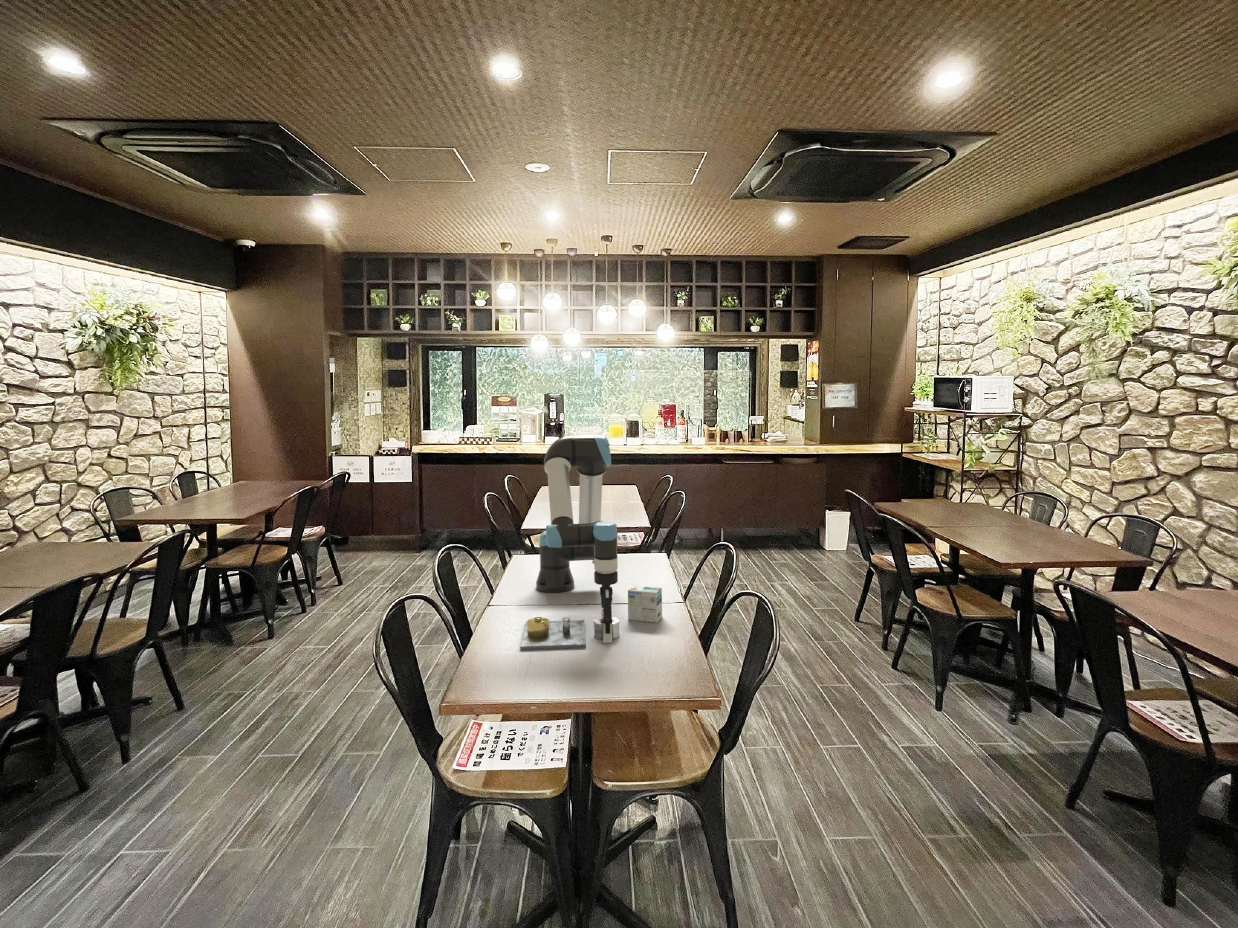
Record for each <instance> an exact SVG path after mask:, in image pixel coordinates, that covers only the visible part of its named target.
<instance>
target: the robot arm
mask: <svg viewBox="0 0 1238 928" xmlns="http://www.w3.org/2000/svg"><path fill="white" fill-rule="evenodd" d="M611 455H612V454H611V447H610V442H609V440H608V437H607V436H606V435H597V434H594V435H593V434H592V435H566V436H562V437H559V438H558V439H556V440H555V441H554V442H552V444H551V445H550V446H549V448H548V449H547V451H546V453H545V456H544V459H543V469H544V472H545V473H546V474H547V485H548V487H547V488H548V499H549V513H550V524H547V525H546V527H545V530H544V531H542V532H541V533H540V535H539V544H538V546H539V563H540V564H539V572H538V576H537V579H536V582H535V584H536V585H535V586H536V587H535V588H536V590H537V591H539V592H543V593H562V592H563V593H564V592H567V591H570V590H572V589H574V588H575V579H574V576H573V574H572V571H571V566H570V562H576V561H577V562H579V561H591V562H592V564H593V567H594V572H593V573H594V574H593V576H594V577H593V580H594V583H595V584H596V585H600V586H599V594H600V598H601V599H600V600H601V602H600V604H601V607H600V608H601V617H603V616H604V621H601V624H603V639H602V640H603V641H602V642H603V644H613V639H612V617H613V615H612V614H613V613H612V609H613V607H612V602H613V586H611V585H615V584H617V583H618V579H619V578H618V576H619V575H618V573H619V572H618V571H617V570H619V569H618V568H619V565H618V564H619V563H618V560H619V559H618V526H617V523H615V522H613V521H608V520H607V521H606V520H604V521H603V520H601V519H602V494H603V493H602V492H603V491H602V490H603V475H604V474H606V473H607V471H608V470H607V468H609V467H611V466H612V456H611ZM571 468H575V471H576V473H578V474H579V490H578V491H579V492H578V493H579V494H578V495H579V496H578V523H574V516H573V504H572V495H571V494H572V493H571V483H570V473H569V472H570V471H571Z"/></svg>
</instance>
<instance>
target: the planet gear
mask: <svg viewBox="0 0 1238 928" xmlns="http://www.w3.org/2000/svg"><path fill="white" fill-rule="evenodd" d="M601 621H604V616H603V617H602V616H599V617H597V618H594V620H593V630H594V631H593V633H594V634H593V635H594V638H595V639H598V640H601V641H602V640H603V624H601ZM619 637H620V619H619V618H618V617H614V616H612V640H616V639H618V638H619Z"/></svg>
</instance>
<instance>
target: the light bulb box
mask: <svg viewBox="0 0 1238 928" xmlns="http://www.w3.org/2000/svg"><path fill="white" fill-rule="evenodd" d="M662 590H663V588H662V587H660V586H649V585H648V586H646V585H636V584H633V585H632V586H631V587H630V588H628V590H627V620H628V621H639V622H647V623H654V624H655V623H659V621H660V620H661V619H662V618H663V591H662Z"/></svg>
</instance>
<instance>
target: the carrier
mask: <svg viewBox="0 0 1238 928" xmlns="http://www.w3.org/2000/svg"><path fill="white" fill-rule="evenodd" d="M561 619H562V620H550V619H548V618H547V617H541V616H535V617H531V618H530V619H528V620H527V621H525V622H524V625H523V632H522V637H521V639H520V640H521V642H520V645H519V650H520V651H534V650H535V651H536V650H542V651H543V650H563V649H564V650H565V649H568V650H569V649H586V647H587V646H586V627H585V626H586V624H585V621H586V620H585V619H577V620H576V619H575V620H571V619H570V618H569V617H563V618H561Z"/></svg>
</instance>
